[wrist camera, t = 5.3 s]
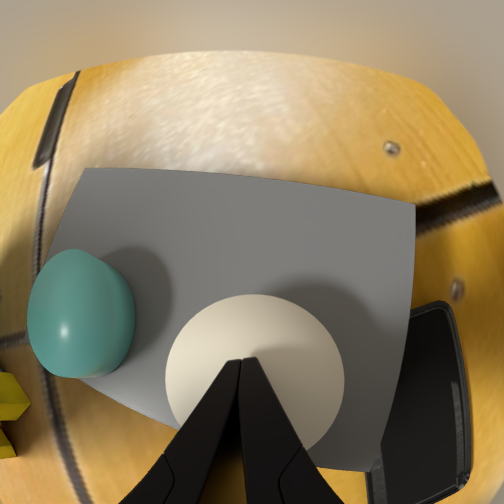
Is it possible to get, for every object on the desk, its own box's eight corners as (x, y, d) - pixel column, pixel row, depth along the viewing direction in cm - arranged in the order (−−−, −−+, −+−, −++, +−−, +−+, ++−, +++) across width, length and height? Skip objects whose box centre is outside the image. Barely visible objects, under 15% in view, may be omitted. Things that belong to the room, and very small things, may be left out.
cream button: (311, 438, 11) (315, 480, 6) (199, 410, 12) (150, 431, 7) (339, 327, 12) (361, 312, 8) (226, 304, 14) (190, 277, 9)
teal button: (152, 391, 13) (92, 400, 8) (79, 355, 14) (18, 346, 9) (178, 292, 14) (128, 262, 10) (102, 270, 15) (47, 240, 11)
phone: (371, 527, 10) (341, 330, 16) (368, 520, 11) (339, 331, 17) (470, 484, 10) (450, 295, 15) (464, 479, 11) (443, 298, 16)
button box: (343, 427, 14) (369, 472, 7) (98, 351, 19) (23, 340, 12) (376, 259, 18) (415, 204, 11) (139, 219, 22) (85, 167, 15)
